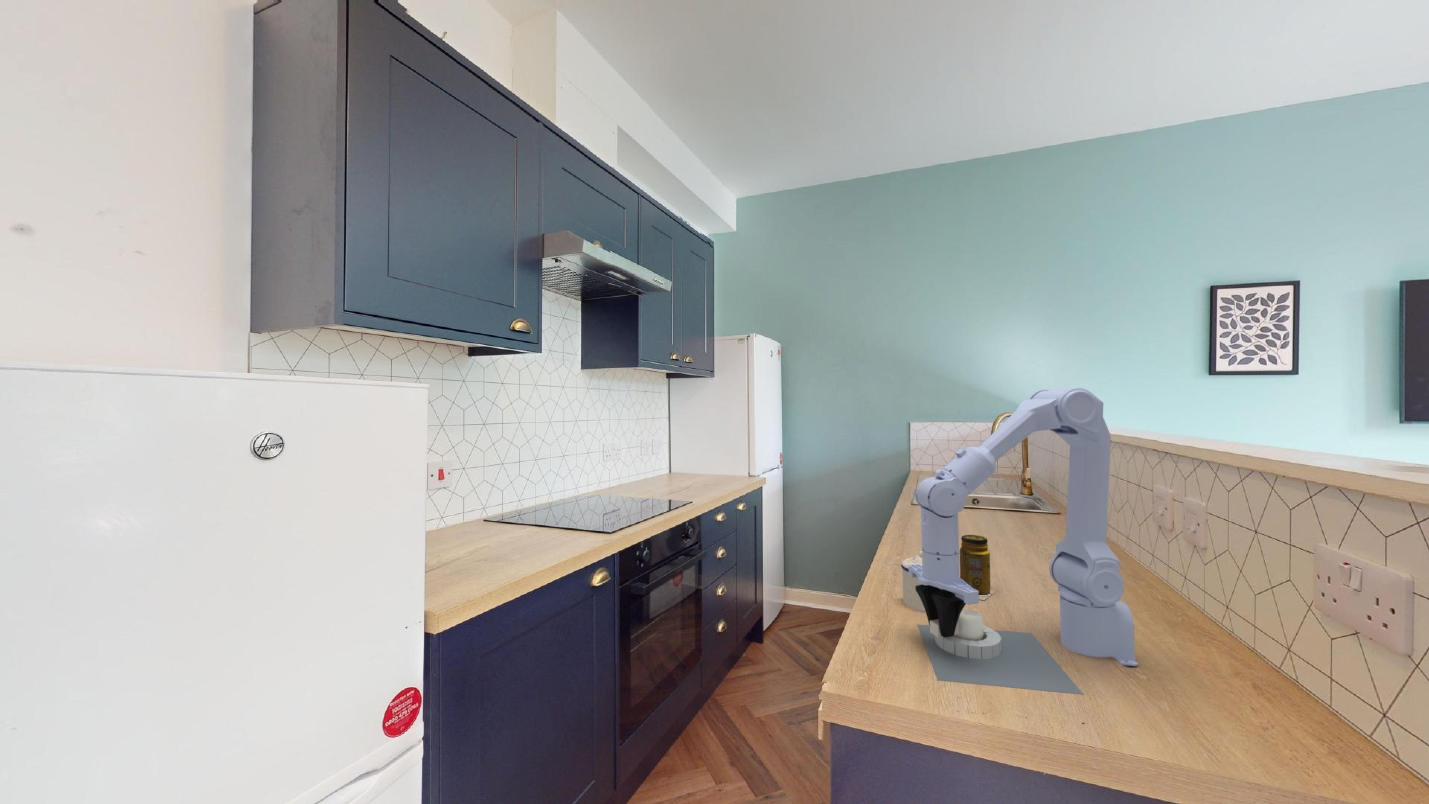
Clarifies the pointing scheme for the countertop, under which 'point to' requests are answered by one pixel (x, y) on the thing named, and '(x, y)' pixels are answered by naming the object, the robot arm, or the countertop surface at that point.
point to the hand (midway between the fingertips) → (942, 632)
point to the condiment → (976, 564)
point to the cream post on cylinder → (963, 626)
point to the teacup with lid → (911, 584)
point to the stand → (996, 661)
